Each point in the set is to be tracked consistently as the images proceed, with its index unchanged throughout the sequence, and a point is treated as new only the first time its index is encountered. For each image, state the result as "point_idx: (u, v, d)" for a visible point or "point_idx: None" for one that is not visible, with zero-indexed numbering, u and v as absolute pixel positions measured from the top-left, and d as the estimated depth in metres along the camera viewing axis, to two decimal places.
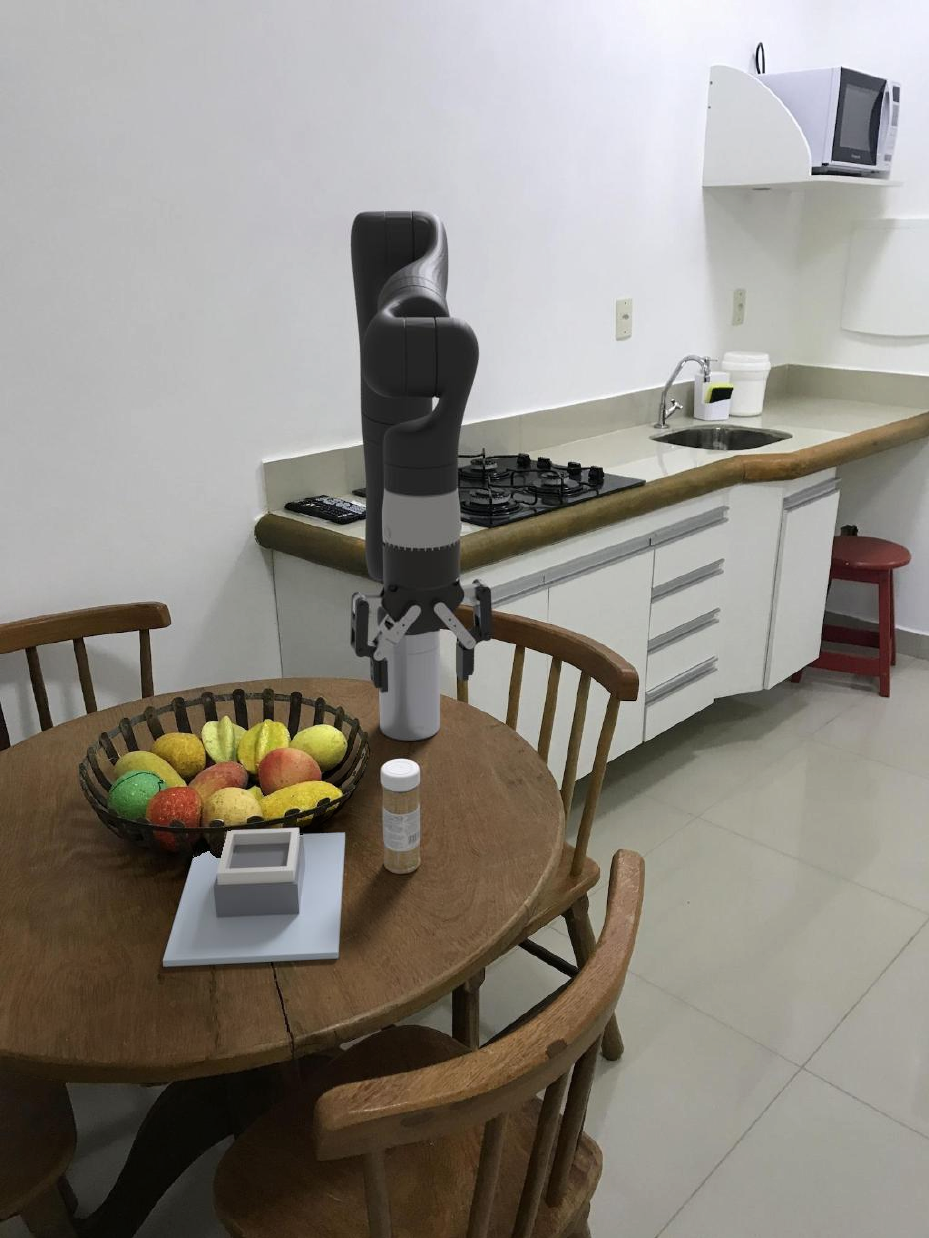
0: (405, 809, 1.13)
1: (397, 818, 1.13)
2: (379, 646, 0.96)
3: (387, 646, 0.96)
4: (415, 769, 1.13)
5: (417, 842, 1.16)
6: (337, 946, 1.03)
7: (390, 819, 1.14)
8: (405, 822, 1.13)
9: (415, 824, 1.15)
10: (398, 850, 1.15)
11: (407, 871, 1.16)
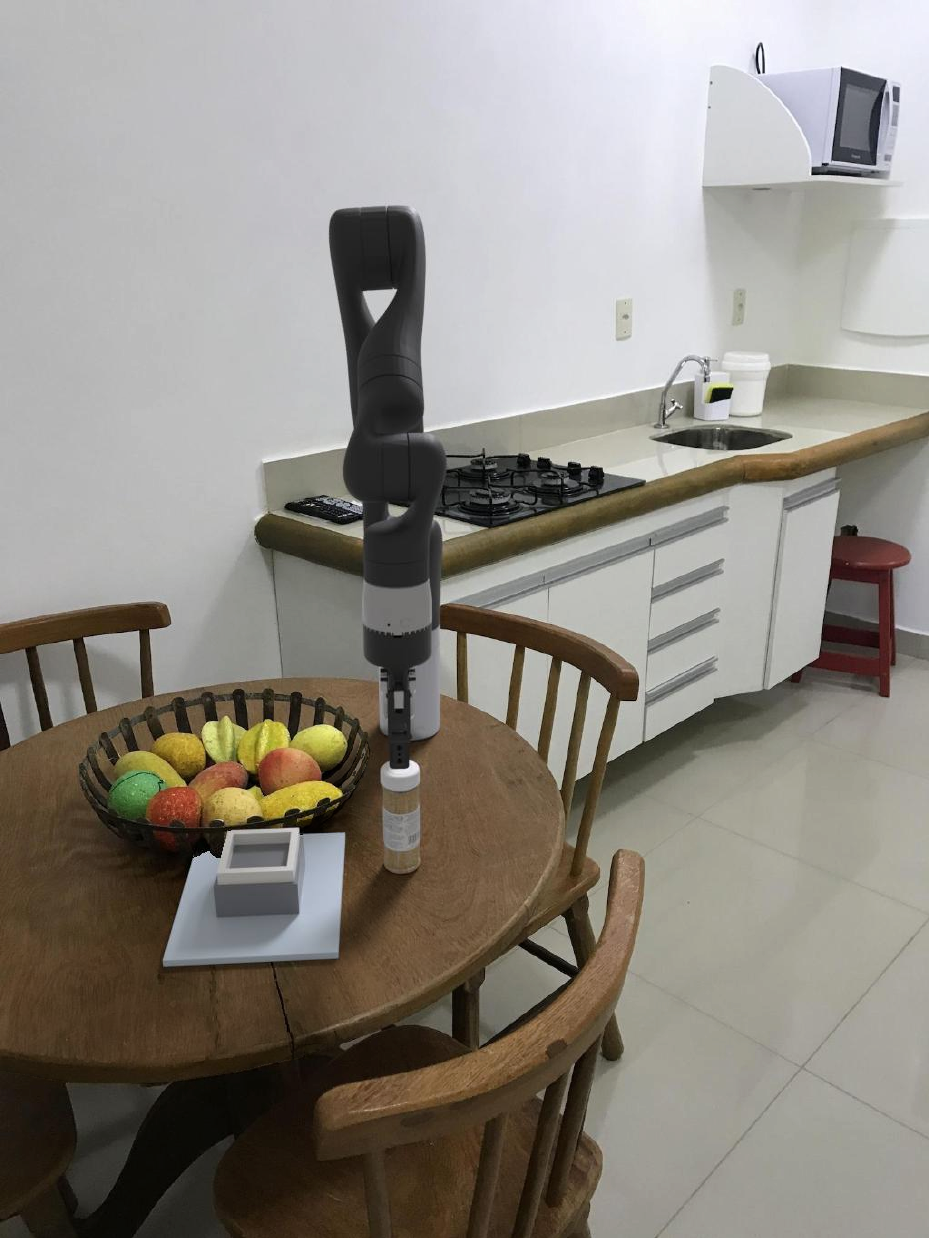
0: (405, 809, 1.13)
1: (397, 818, 1.13)
2: None
3: None
4: (415, 769, 1.13)
5: (417, 842, 1.16)
6: (337, 946, 1.03)
7: (390, 819, 1.14)
8: (405, 822, 1.13)
9: (415, 824, 1.15)
10: (398, 850, 1.15)
11: (407, 871, 1.16)
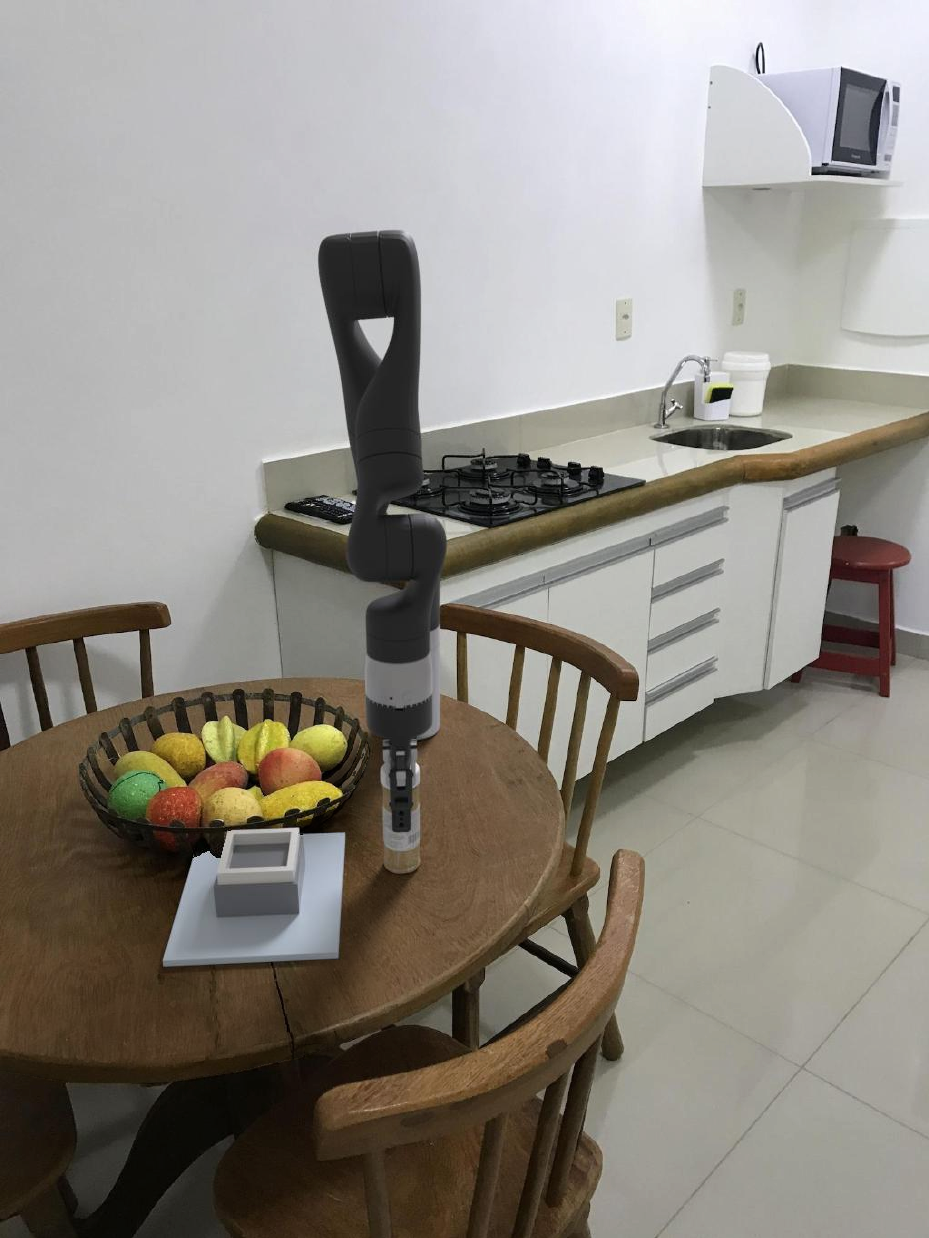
0: None
1: None
2: None
3: None
4: None
5: (417, 842, 1.16)
6: (337, 946, 1.03)
7: (390, 818, 1.14)
8: None
9: (415, 824, 1.15)
10: (398, 850, 1.15)
11: (407, 871, 1.16)
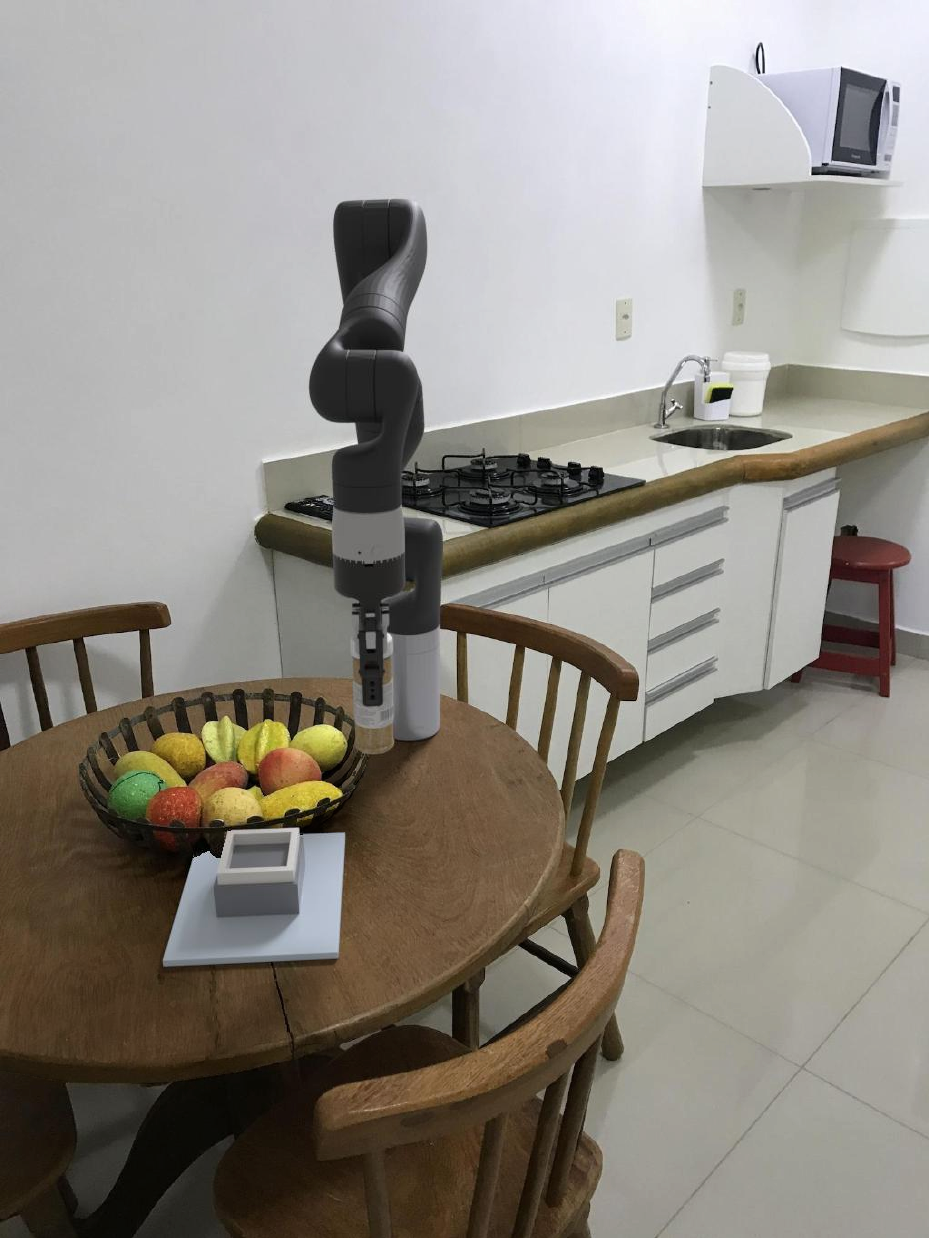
0: None
1: None
2: None
3: None
4: (387, 638, 1.05)
5: (390, 720, 1.08)
6: (337, 946, 1.03)
7: (360, 692, 1.06)
8: None
9: (388, 699, 1.07)
10: (370, 728, 1.07)
11: (379, 751, 1.09)
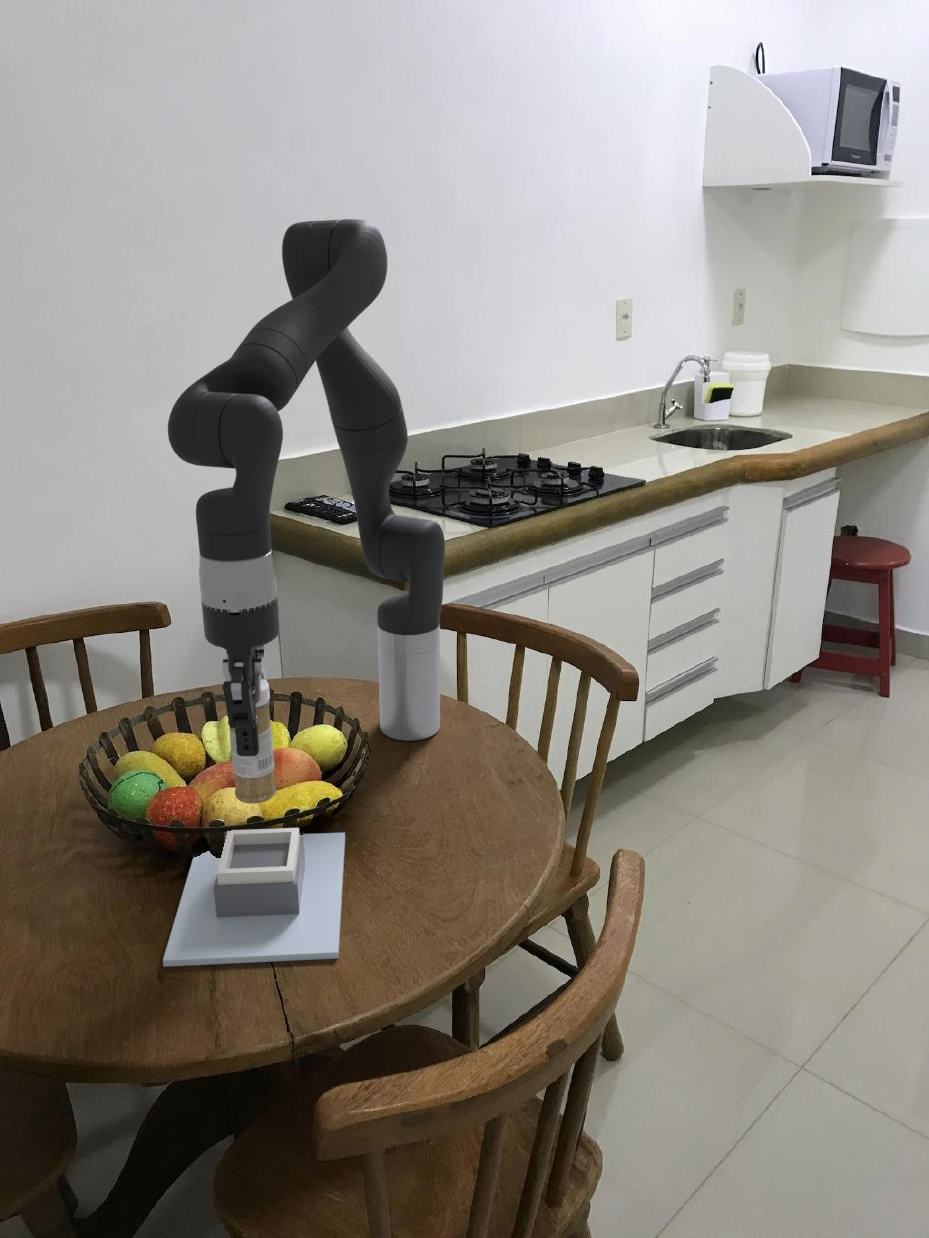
0: None
1: None
2: (255, 710, 1.00)
3: (256, 707, 1.01)
4: (262, 685, 1.02)
5: (269, 769, 1.05)
6: (337, 946, 1.03)
7: None
8: None
9: (265, 747, 1.04)
10: (247, 777, 1.04)
11: (258, 801, 1.05)
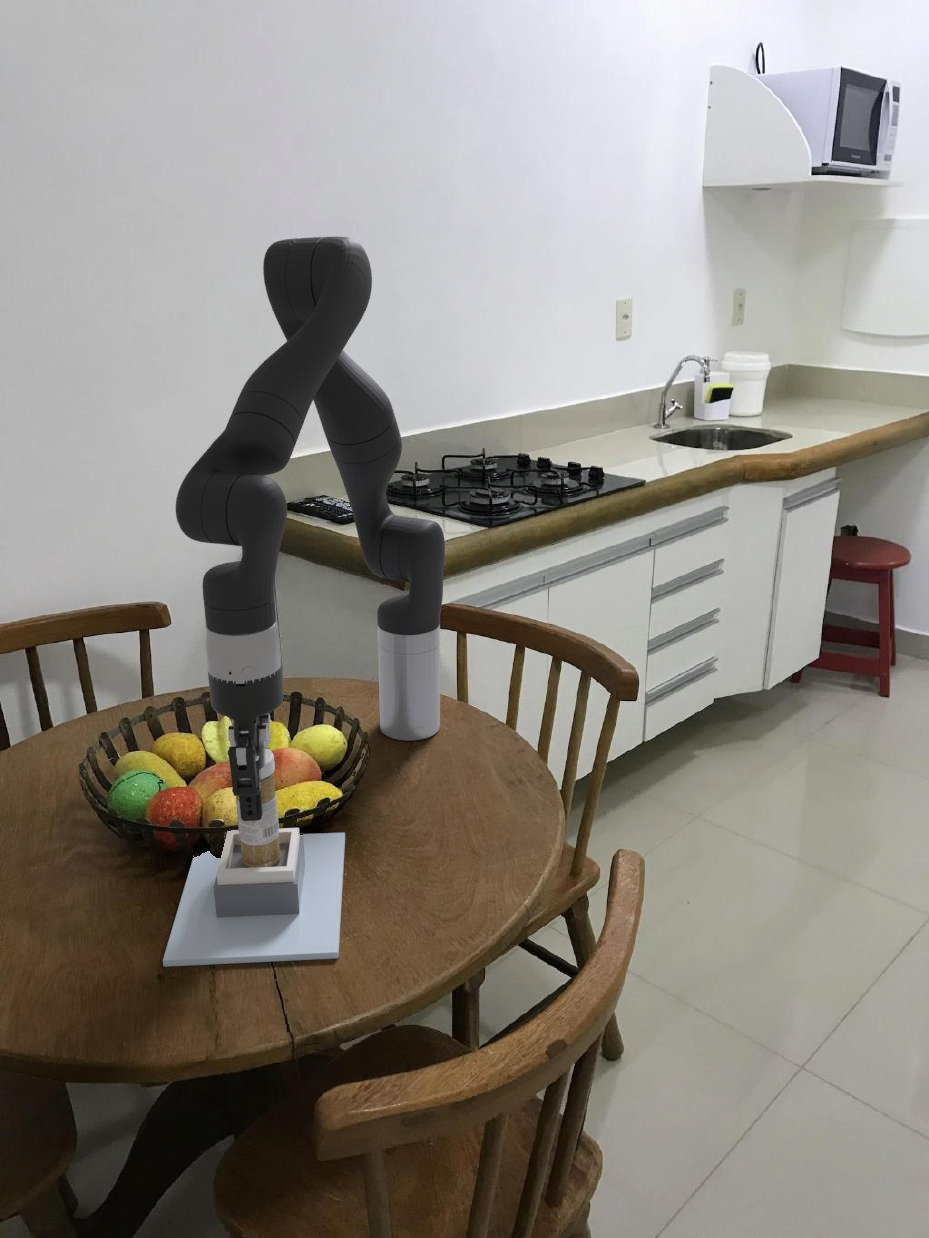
0: None
1: None
2: (259, 777, 1.02)
3: (260, 773, 1.03)
4: (267, 757, 1.05)
5: (274, 836, 1.08)
6: (337, 946, 1.03)
7: None
8: None
9: (271, 816, 1.07)
10: (253, 844, 1.07)
11: None
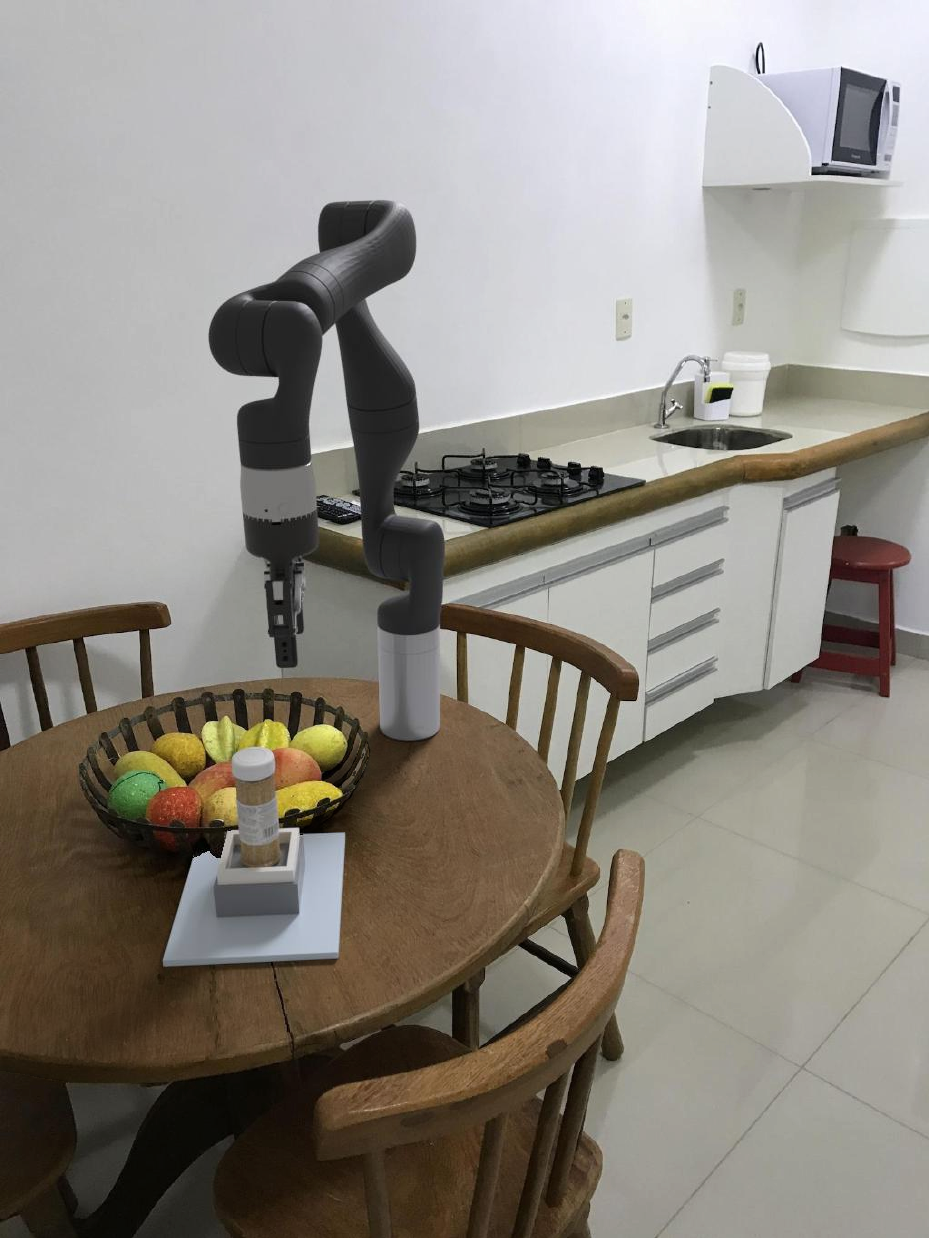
0: (258, 801, 1.05)
1: (249, 809, 1.06)
2: (294, 621, 1.00)
3: (295, 618, 1.01)
4: (268, 757, 1.05)
5: (275, 836, 1.08)
6: (337, 946, 1.03)
7: (242, 811, 1.06)
8: (258, 814, 1.06)
9: (271, 816, 1.07)
10: (253, 845, 1.07)
11: None
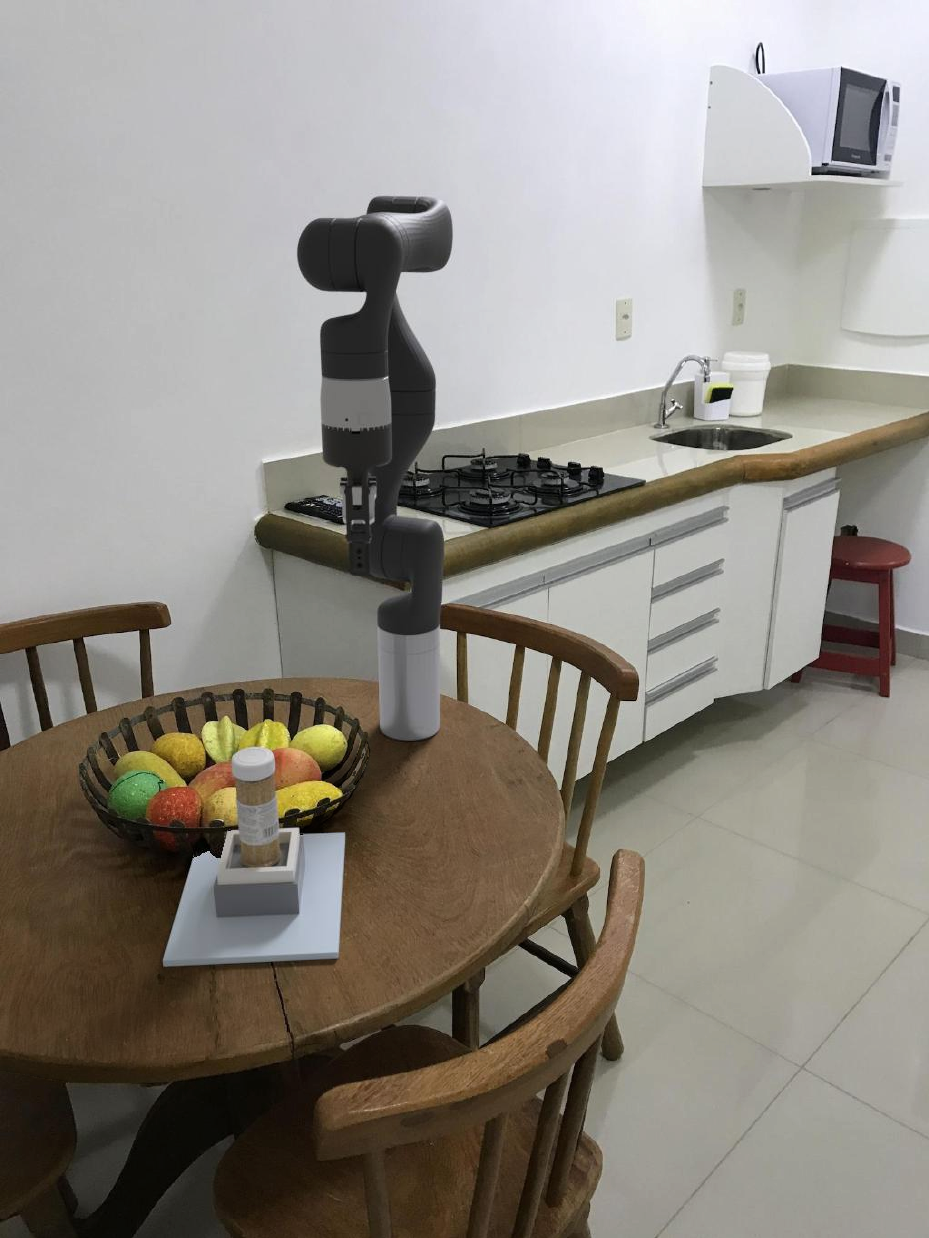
0: (258, 801, 1.05)
1: (249, 809, 1.06)
2: None
3: None
4: (268, 757, 1.05)
5: (275, 836, 1.08)
6: (337, 946, 1.03)
7: (242, 811, 1.06)
8: (258, 815, 1.06)
9: (271, 816, 1.07)
10: (253, 845, 1.07)
11: None
